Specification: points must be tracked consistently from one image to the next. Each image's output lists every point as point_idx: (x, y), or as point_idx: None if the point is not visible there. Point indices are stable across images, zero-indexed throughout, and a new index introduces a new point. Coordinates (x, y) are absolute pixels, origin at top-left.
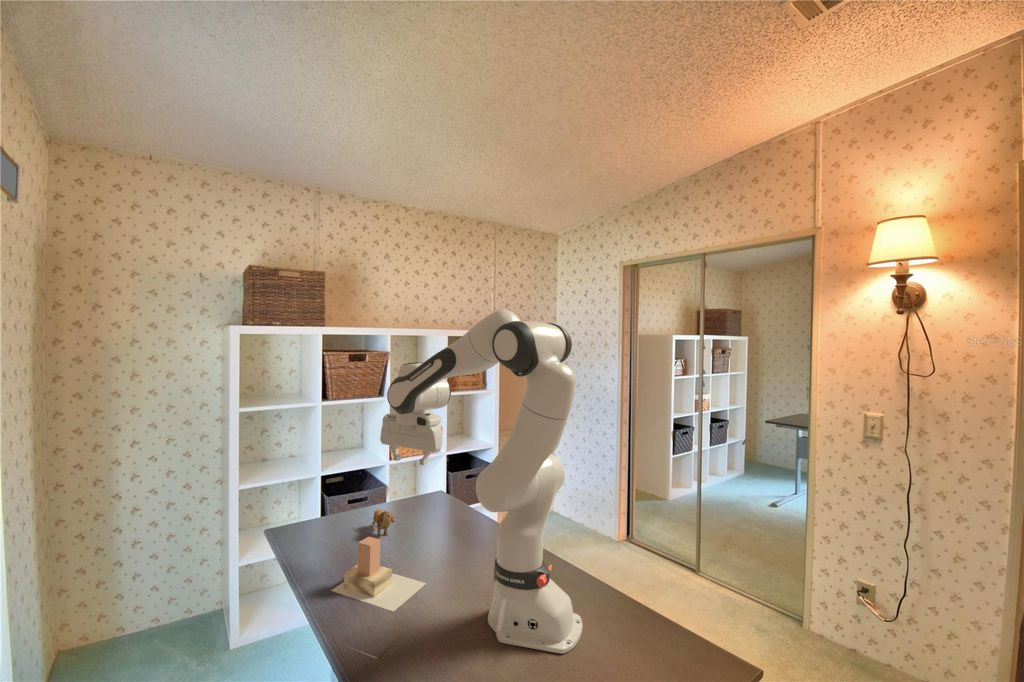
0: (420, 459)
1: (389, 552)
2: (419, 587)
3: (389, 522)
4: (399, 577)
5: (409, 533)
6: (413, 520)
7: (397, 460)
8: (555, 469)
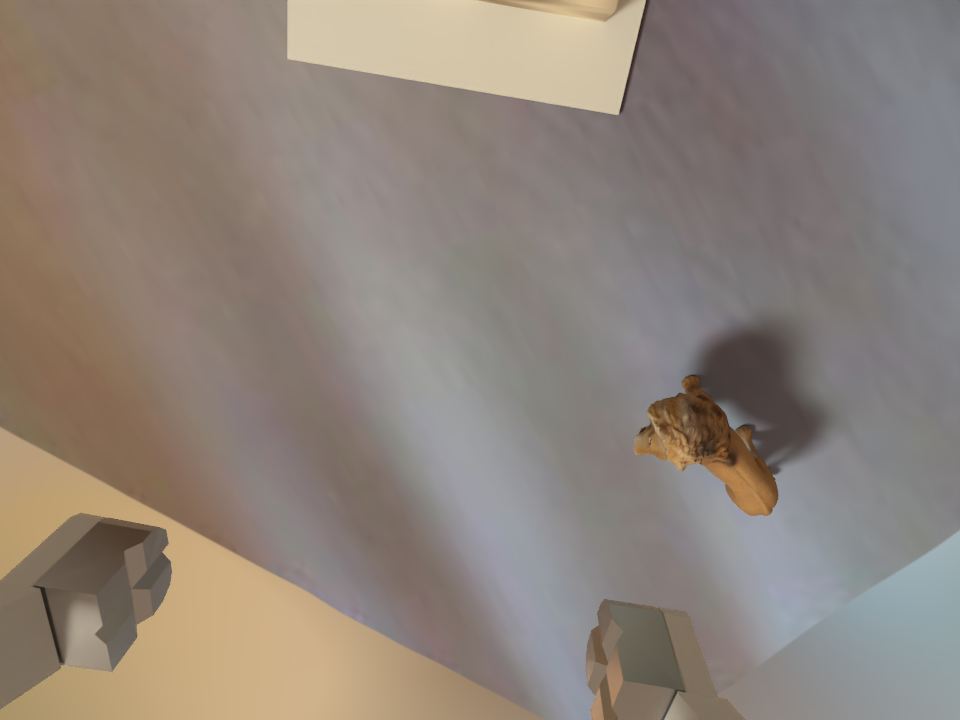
0: (74, 587)
1: (582, 273)
2: (295, 10)
3: (651, 410)
4: (425, 65)
5: (574, 447)
6: (608, 548)
7: (604, 602)
8: None
